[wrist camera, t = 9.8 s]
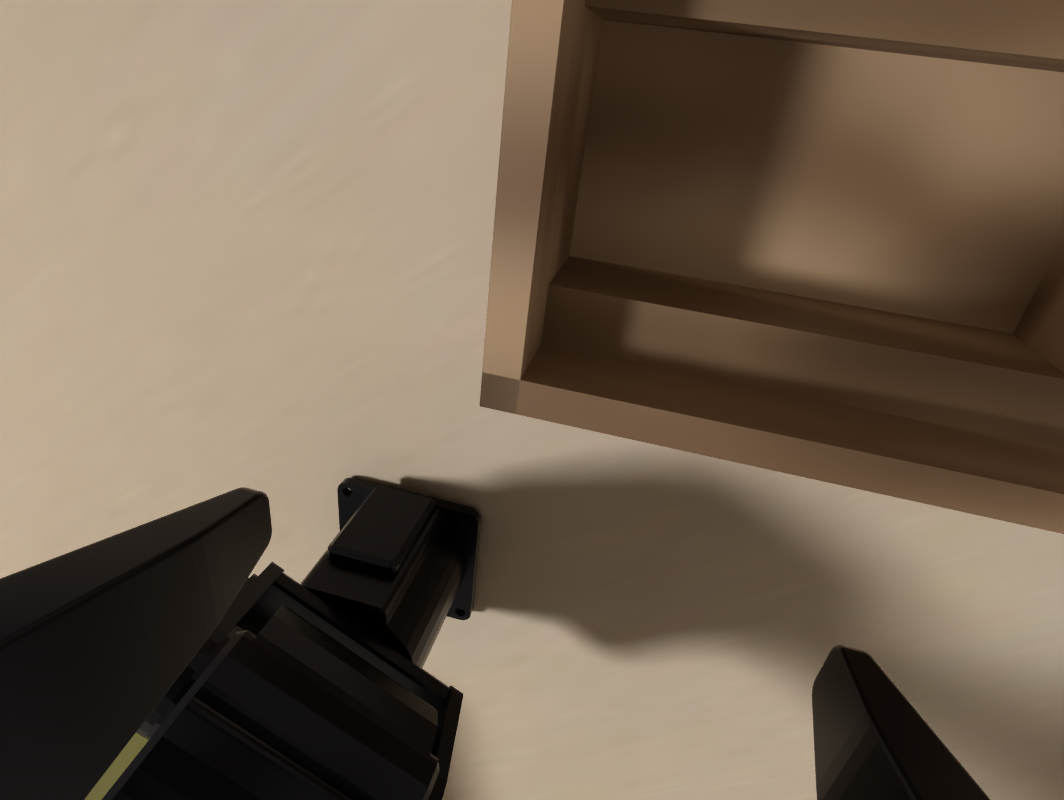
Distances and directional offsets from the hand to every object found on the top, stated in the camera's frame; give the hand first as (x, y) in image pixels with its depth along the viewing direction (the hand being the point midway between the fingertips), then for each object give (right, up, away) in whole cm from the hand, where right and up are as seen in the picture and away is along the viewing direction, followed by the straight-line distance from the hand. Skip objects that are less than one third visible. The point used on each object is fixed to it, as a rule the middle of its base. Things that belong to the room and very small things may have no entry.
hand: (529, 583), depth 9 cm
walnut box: (+8, +9, +8) cm, 15 cm away
